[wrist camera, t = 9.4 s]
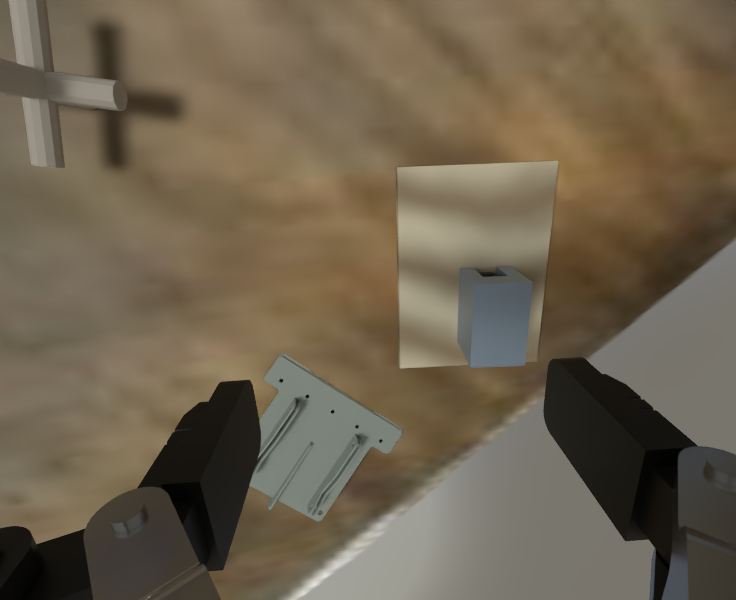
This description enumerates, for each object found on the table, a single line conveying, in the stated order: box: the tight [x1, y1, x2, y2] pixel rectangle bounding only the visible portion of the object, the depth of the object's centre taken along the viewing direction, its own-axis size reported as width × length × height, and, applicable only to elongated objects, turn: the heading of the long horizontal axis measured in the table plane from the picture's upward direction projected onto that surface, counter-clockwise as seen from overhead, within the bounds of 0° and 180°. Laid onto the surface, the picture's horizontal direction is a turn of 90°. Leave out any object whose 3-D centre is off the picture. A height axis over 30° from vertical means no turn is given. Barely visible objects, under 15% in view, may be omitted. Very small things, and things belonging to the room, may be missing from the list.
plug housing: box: [457, 266, 533, 368], centre depth 34 cm, size 7×4×5 cm, turn 2°
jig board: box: [396, 161, 559, 368], centre depth 35 cm, size 18×13×4 cm
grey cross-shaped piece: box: [0, 0, 128, 168], centre depth 26 cm, size 10×10×10 cm
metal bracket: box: [249, 354, 403, 521], centre depth 41 cm, size 14×6×15 cm
